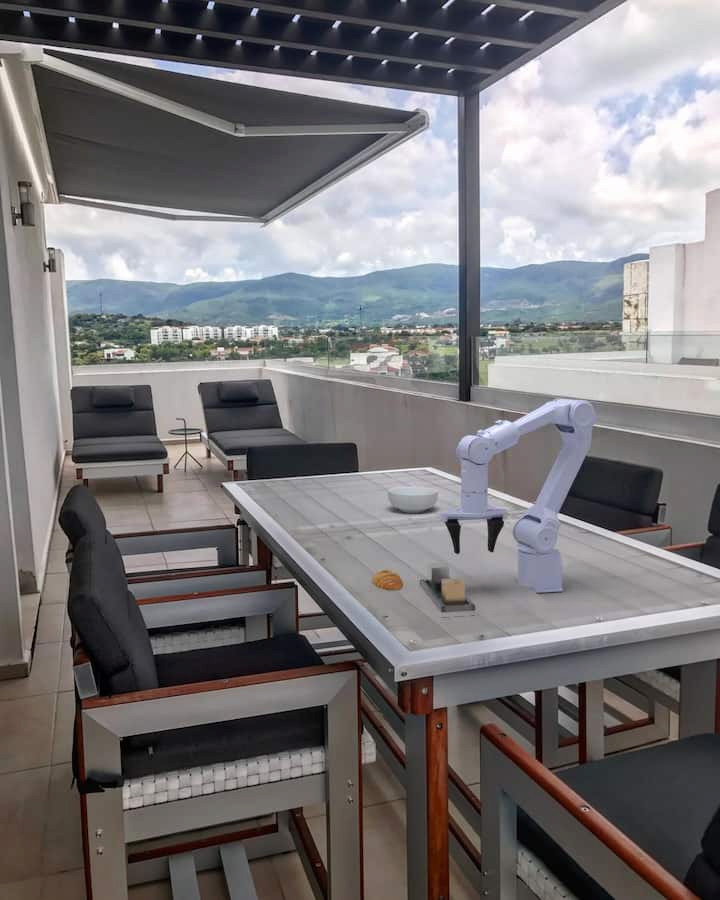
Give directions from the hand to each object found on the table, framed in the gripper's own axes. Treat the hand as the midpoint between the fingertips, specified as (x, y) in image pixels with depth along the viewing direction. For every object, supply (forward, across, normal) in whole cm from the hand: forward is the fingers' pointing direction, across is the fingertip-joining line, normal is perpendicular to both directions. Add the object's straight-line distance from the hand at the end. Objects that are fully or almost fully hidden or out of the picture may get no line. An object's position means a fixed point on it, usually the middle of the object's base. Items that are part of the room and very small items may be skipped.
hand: (473, 552), depth 179 cm
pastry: (+10, +17, -9) cm, 22 cm away
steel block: (+9, +7, -4) cm, 12 cm away
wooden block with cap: (+9, +7, +9) cm, 14 cm away
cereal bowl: (+10, -7, -95) cm, 96 cm away
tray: (+10, +7, +3) cm, 12 cm away
